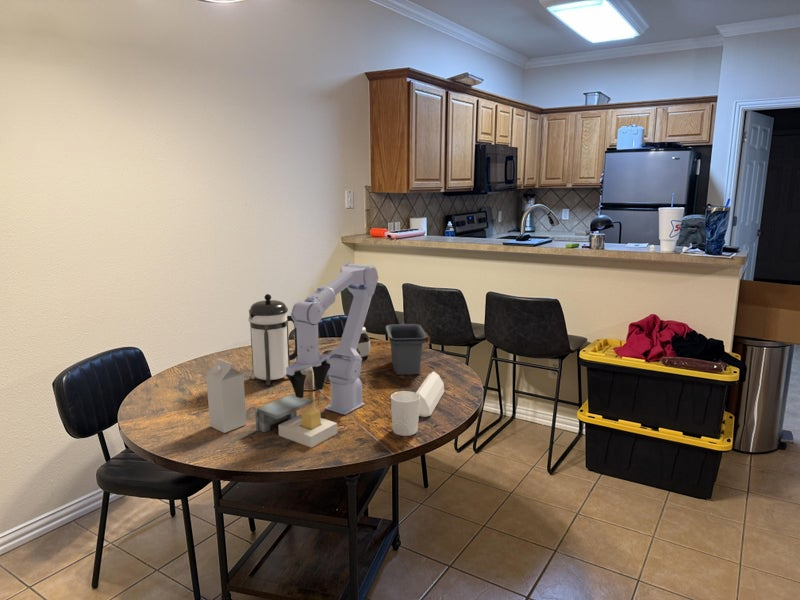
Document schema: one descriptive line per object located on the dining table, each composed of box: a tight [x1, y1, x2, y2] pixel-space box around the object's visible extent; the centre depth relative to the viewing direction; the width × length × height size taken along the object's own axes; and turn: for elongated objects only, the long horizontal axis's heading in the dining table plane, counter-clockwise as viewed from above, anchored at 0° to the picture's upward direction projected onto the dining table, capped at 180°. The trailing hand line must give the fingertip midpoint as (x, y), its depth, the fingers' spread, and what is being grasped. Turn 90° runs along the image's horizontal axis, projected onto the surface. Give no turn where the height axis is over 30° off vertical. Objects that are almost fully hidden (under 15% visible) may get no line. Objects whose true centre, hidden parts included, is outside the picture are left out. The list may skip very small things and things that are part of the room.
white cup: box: [390, 390, 420, 437], centre depth 147 cm, size 8×8×10 cm
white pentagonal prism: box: [415, 371, 445, 418], centre depth 166 cm, size 7×7×24 cm
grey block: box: [254, 393, 313, 433], centre depth 150 cm, size 13×9×7 cm
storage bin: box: [385, 323, 431, 376], centre depth 198 cm, size 21×16×14 cm
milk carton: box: [205, 357, 247, 434], centre depth 148 cm, size 7×7×19 cm
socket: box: [278, 413, 338, 448], centre depth 145 cm, size 10×12×3 cm
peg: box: [301, 407, 322, 430], centre depth 144 cm, size 4×4×7 cm
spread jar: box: [345, 326, 371, 360], centre depth 209 cm, size 12×11×12 cm
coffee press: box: [248, 293, 298, 387], centre depth 185 cm, size 17×16×30 cm
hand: (309, 392), depth 148 cm, fingers open, 7 cm apart
